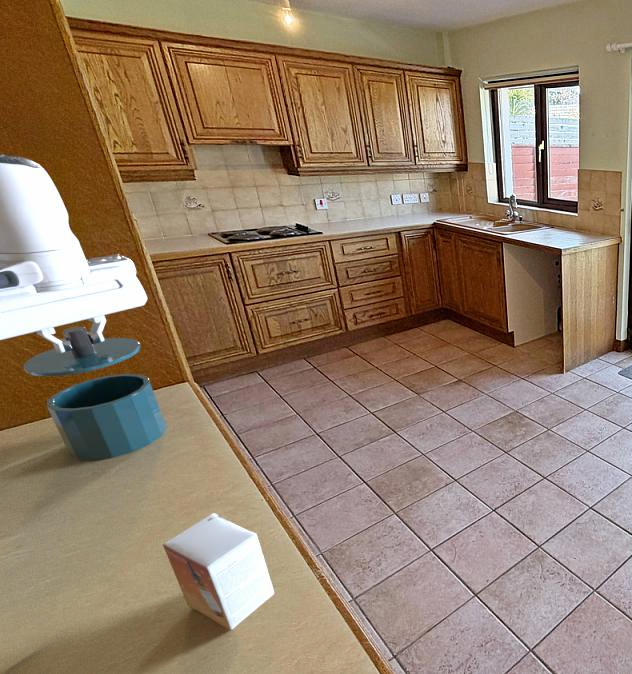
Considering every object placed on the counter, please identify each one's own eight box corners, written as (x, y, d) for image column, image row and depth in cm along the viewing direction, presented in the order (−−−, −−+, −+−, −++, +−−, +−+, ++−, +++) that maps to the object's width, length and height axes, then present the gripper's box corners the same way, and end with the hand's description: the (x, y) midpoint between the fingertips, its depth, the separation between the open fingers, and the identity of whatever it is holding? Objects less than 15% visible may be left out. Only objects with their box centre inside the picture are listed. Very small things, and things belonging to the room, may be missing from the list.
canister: (56, 450, 83) (30, 398, 79) (143, 415, 94) (124, 368, 89) (96, 471, 79) (71, 418, 74) (182, 432, 89) (165, 383, 85)
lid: (8, 368, 76) (-8, 335, 74) (115, 338, 88) (104, 309, 85) (53, 387, 71) (37, 353, 69) (159, 353, 83) (148, 323, 81)
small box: (187, 606, 58) (159, 543, 54) (234, 571, 63) (212, 511, 59) (230, 632, 55) (205, 568, 51) (276, 593, 60) (256, 532, 56)
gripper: (119, 249, 83) (145, 322, 88) (-67, 278, 65) (-19, 366, 71) (140, 254, 81) (165, 329, 86) (-46, 285, 63) (1, 376, 69)
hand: (81, 346), depth 78 cm, fingers closed on lid, 2 cm apart
